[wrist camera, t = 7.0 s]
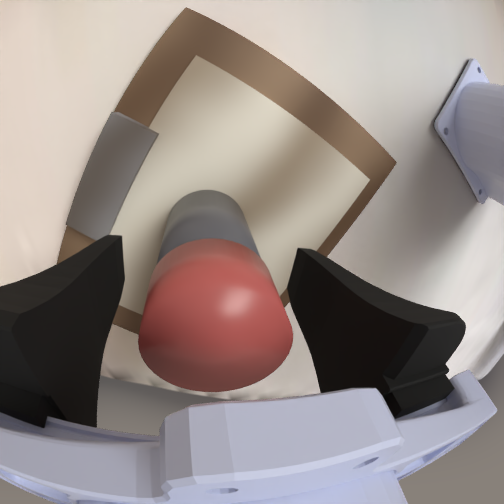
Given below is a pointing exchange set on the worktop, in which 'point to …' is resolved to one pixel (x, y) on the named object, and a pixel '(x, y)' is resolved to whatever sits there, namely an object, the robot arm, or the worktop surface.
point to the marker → (212, 301)
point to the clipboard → (222, 156)
